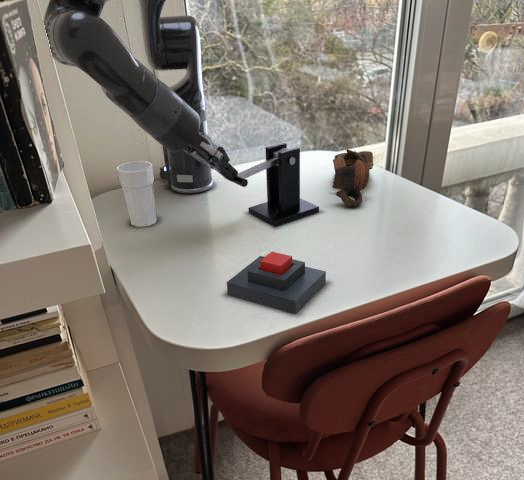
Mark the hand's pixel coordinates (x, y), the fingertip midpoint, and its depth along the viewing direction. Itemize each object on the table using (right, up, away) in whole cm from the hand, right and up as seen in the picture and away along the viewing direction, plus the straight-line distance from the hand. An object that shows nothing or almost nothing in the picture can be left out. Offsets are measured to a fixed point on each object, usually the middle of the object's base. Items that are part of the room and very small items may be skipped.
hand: (233, 176), depth 99 cm
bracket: (+10, -4, +11) cm, 15 cm away
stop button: (+7, -19, -15) cm, 26 cm away
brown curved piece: (+21, +10, +22) cm, 32 cm away
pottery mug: (+19, +3, +12) cm, 23 cm away
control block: (+8, -22, -13) cm, 27 cm away
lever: (+5, +2, +4) cm, 6 cm away
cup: (-18, -6, +10) cm, 22 cm away
